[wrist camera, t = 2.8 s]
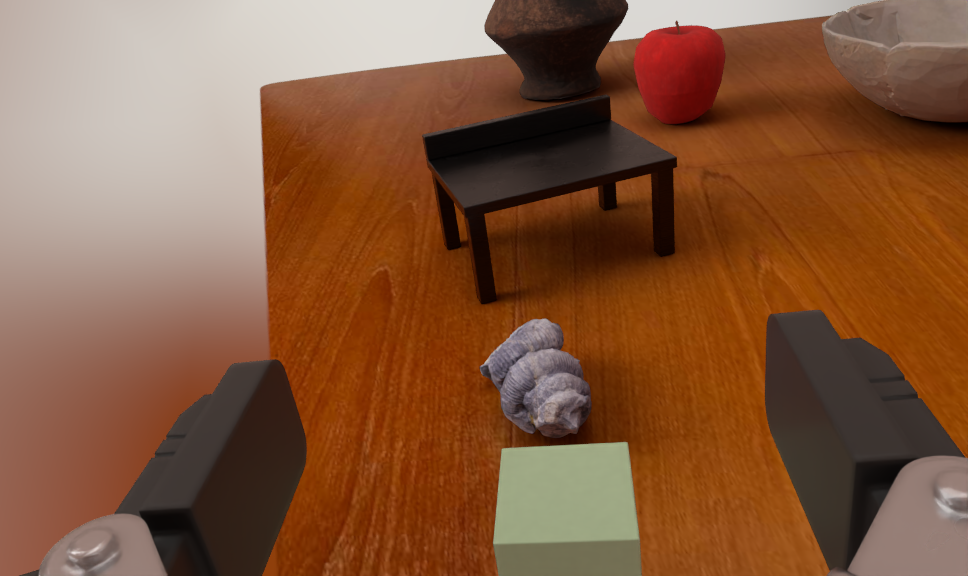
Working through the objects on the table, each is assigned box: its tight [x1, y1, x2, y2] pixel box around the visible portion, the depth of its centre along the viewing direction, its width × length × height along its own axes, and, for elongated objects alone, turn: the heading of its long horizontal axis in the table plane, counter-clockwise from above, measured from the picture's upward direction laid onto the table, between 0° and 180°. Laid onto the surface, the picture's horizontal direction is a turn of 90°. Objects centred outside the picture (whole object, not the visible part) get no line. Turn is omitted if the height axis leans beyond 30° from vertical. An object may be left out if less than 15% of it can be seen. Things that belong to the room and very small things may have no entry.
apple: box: [633, 21, 725, 124], centre depth 85 cm, size 10×10×11 cm
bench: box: [422, 95, 677, 304], centre depth 61 cm, size 16×12×10 cm
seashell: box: [480, 319, 591, 438], centre depth 44 cm, size 5×5×10 cm
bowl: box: [822, 0, 968, 122], centre depth 75 cm, size 26×26×10 cm
